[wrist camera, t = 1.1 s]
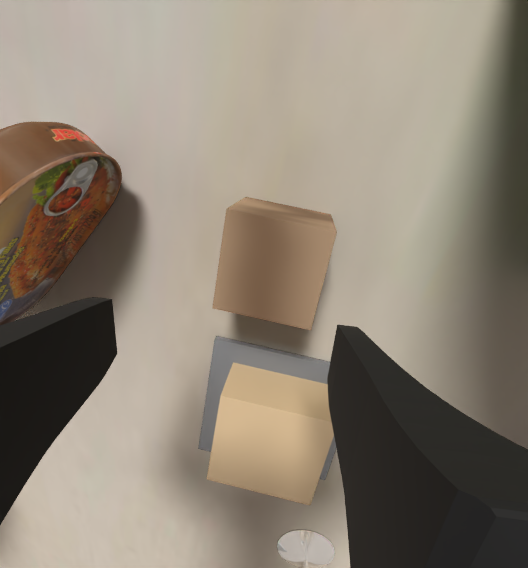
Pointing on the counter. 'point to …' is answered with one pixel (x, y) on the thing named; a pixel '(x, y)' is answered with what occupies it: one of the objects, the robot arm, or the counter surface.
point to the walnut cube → (273, 261)
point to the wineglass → (305, 549)
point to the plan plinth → (267, 420)
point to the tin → (47, 206)
